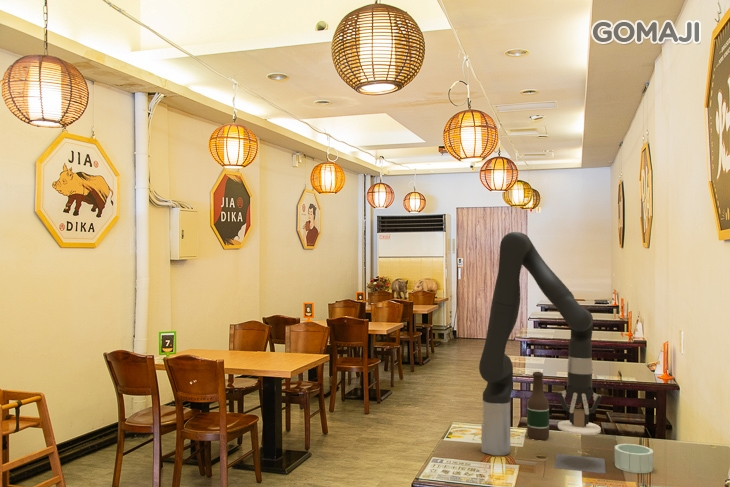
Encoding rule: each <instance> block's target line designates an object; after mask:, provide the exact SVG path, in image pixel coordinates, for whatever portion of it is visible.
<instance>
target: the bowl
mask: <svg viewBox="0 0 730 487" xmlns="http://www.w3.org/2000/svg"><path fill="white" fill-rule="evenodd" d="M614 466H615V468H617V469H618V470H621V471H623V472H627V473H633V474H647V473H648V474H649V473H651V472H653V471H654V450H653V448H650V447H647V446H644V445H641V444H633V443H620V444H617V445H616V444H615V445H614Z"/></svg>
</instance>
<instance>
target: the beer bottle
mask: <svg viewBox="0 0 730 487" xmlns="http://www.w3.org/2000/svg"><path fill="white" fill-rule="evenodd" d="M532 377H533V379H532V380H533V381H532V392H531V395H530V396H529V398H528V400H527V406H526V419H527V421H526V422H527V423H526V425H527V426H526V429H527V430H526V431H527V432H526V433H527V434H526V435H527V438H528V437H529V438H528V439H530V440H531V439H534V440H533V441H538V440H544V441H547V440H549V438H550V404H549V401H548V400H549V399H548V398H547V397H546V396H545V393H544V392H545V391H544V380H543V377H544V373H543V372H541V371H533V373H532Z"/></svg>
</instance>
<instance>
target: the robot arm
mask: <svg viewBox="0 0 730 487" xmlns="http://www.w3.org/2000/svg"><path fill="white" fill-rule="evenodd" d="M522 267H524V268H525V269H526V271H528V272H529V274H530V275H531V277H532V278H533V280H535V283H536V284H537V286H538V288H539V289H540V290H541V292H542V294H544V296H545V297H546V298H547V300H548V301H549V302H550V303H551V304H552V305H553V306H554V307H555V308H556V309H557V311H558V313H559V314H560V316H561V317H562V318H563V320H564V321H565V323H566V324H567V325H568V326H569V327H570V338H569V342H568V357H567V358H568V359H567V383H566V384H567V386H566V389H564V390H562V391H561V390H559V391H558V393H557V395H558V398H559V401H560V403H561V406H562V408H563V410H564V411H565V412H568V414H569V421H570V423H572V425H574V409H575V406H576V404H583V409H584V410H585V413H584V426H586V424H588V423H589V422H590V415H591V414H595V413H596V411H597V410H598V408H599V405H600V403H601V400H602V395H601V394H598V393H595V392H594V390H593V360H592V357H593V356H592V354H593V352H592V349H593V346H592V339H593V338H592V337H593V330H594V329H593V327H594V326H593V325H594V318H593V315H592V313H591V312H590V310H589V309H586V308H583V307H582V306H581V304H580V303H579V302H578V301H577V300H576V299H575V297H574V294H573V292H572V291H571V290H570V289H569V288H568V286H566V285H565V283H564V282H563V281H562V280H561V279H560V277H558V276H557V275H556V274H555V272H553V270H552V269H551V268H550V267H549V266H548V263H546V262H545V261H544V259H543V258H542V257H541V255H540V253H539V252H538V251H537V249H536V247H535V245H534V244H533V242H532V241H531V239H530V237H529V236H528V235H527V234H525V233H523V232H520V231H514V232H508V233H507V234H505V235H504V236H503V237H502V239H501V241H500V244H499V258H498V270H497V276H496V279H495V284H494V289H493V294H492V299H491V305H490V313H489V318H488V326H487V329H486V330H487V331H486V338H485V342H484V346H483V350H482V354H481V357H480V360H479V365H478V371H479V374H480V377H481V378H482V379H483V380H484V381H485V382H486V383H487V384H486V386H485V389H484V390H483V391H482V423H481V453H484V454H488V455H491V456H506V455H507V456H508V455H510V453H511V396H512V393H513V381H514V366H513V362H512V360H511V358H510V356H508V355H507V354H506V348H507V343H508V340H509V339H510V336H511V334H512V332H513V330H514V328H515V326H516V323H517V320H518V317H519V311H520V305H521V279H520V278H521V271H522ZM566 395H567V396H568V398H569V399H570V400H571V401H570V406H569V405H568V404H567V401H566V399H565V398H566ZM592 397H593V404H592V406H591V408H589V403H588V402H589V400H590V399H591V398H592Z"/></svg>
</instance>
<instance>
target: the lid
mask: <svg viewBox="0 0 730 487" xmlns="http://www.w3.org/2000/svg"><path fill="white" fill-rule="evenodd" d="M584 413H585V410H584V408H583V409H581V408H574V425H572V423H570V421H569V420H567V419H566V420H562V421H561V420H560V421H559V422H558V423H557V428H558V429H559V430H560V431H562V432H565V433H570V434H574V435H581V436H591V435H592V436H593V435H598V434H600V433H601V429H602V428H601V427H600V426H599V425H598V424H596V423H594V422H593V423H592V422H590V421H589V423H588V424H586V426H584Z"/></svg>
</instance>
